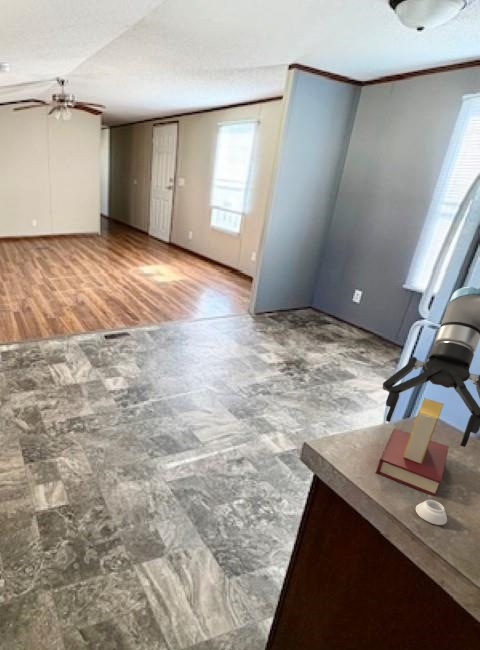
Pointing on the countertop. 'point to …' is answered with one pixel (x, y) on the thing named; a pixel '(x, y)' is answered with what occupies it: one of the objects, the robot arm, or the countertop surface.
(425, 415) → the small book
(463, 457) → the countertop surface
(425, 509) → the upside-down white bowl
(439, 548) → the countertop surface
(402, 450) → the big book
